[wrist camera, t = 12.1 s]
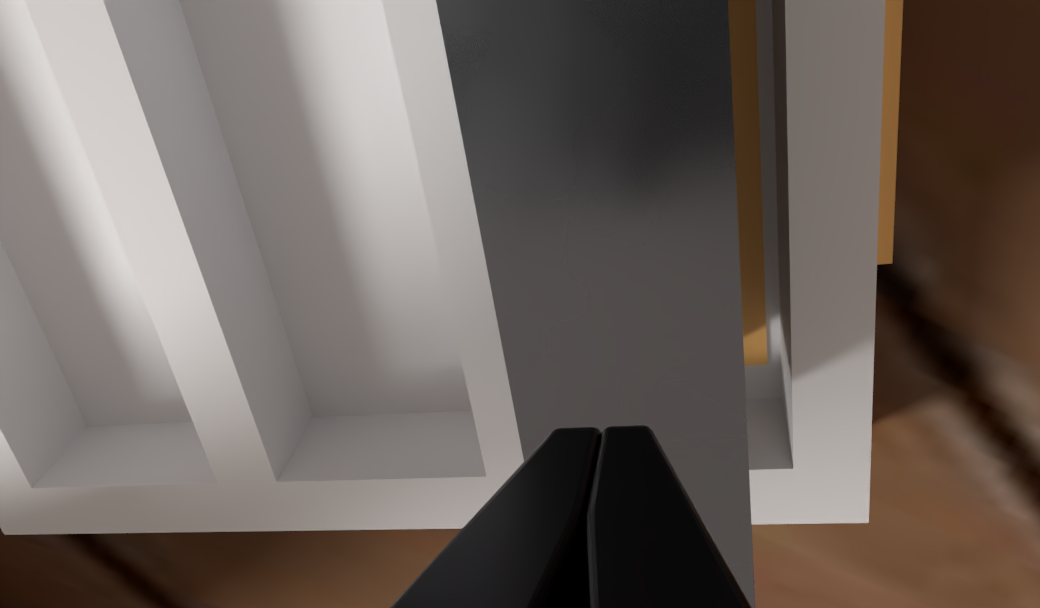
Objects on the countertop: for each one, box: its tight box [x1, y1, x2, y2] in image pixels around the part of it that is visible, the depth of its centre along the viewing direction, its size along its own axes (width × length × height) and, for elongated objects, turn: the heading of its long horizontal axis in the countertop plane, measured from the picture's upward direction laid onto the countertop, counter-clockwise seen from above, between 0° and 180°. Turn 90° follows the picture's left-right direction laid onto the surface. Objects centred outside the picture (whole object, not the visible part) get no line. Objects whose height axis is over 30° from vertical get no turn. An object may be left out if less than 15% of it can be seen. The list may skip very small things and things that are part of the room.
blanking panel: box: [436, 0, 755, 608], centre depth 15 cm, size 12×3×8 cm, turn 9°
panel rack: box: [0, 0, 903, 535], centre depth 19 cm, size 18×21×3 cm
